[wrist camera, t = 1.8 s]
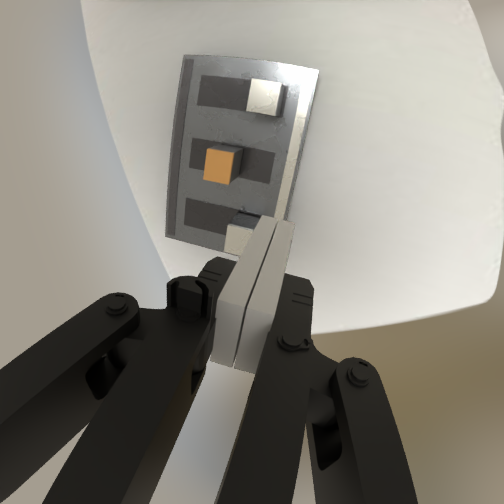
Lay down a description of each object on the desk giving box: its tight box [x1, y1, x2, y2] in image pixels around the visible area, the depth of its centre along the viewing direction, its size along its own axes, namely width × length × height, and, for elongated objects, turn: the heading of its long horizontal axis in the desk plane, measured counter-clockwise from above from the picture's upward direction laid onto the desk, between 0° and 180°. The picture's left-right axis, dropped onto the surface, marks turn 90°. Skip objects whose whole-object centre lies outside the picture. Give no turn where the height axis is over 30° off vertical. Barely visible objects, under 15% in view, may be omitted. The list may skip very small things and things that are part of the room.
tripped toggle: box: [203, 144, 243, 185], centre depth 27 cm, size 3×2×4 cm
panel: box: [165, 55, 319, 256], centre depth 28 cm, size 22×14×6 cm, turn 170°
